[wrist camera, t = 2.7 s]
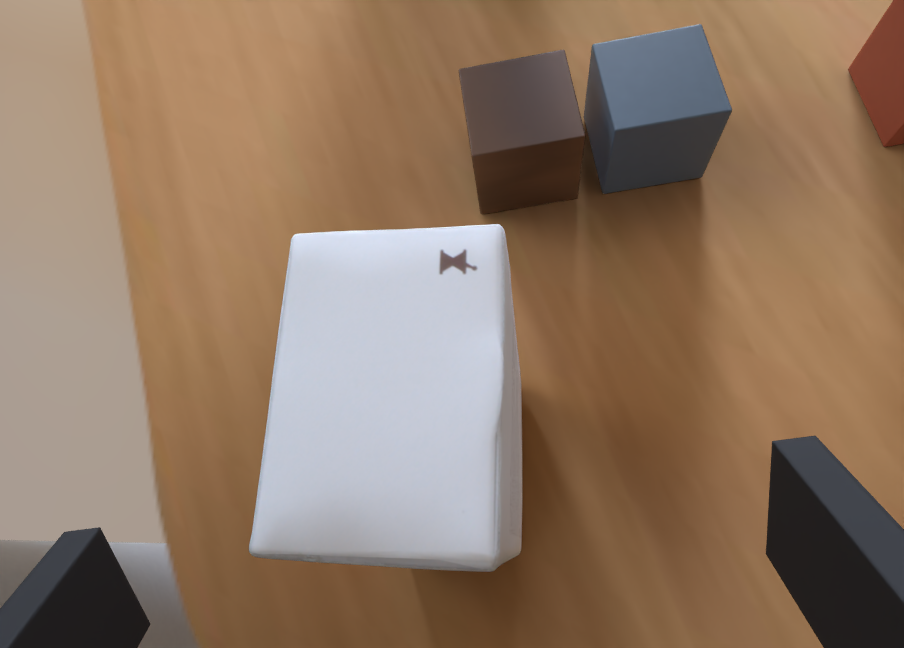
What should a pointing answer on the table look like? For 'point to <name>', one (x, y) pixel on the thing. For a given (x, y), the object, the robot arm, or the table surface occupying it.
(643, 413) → the table surface
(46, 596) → the robot arm
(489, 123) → the block
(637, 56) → the block
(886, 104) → the block
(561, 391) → the table surface
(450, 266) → the cosmetic box
